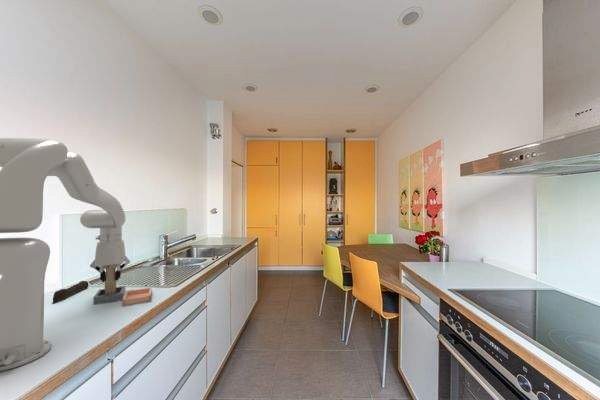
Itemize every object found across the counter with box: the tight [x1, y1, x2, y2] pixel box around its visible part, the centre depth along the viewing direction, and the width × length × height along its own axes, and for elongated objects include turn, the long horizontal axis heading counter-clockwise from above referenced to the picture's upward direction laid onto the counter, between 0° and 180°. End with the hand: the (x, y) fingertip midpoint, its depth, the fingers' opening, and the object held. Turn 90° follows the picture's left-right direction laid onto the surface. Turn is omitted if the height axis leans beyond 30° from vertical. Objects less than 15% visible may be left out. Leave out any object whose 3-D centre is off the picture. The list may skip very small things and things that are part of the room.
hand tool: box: [52, 280, 89, 304], centre depth 110 cm, size 19×4×5 cm, turn 9°
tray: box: [121, 287, 153, 307], centre depth 105 cm, size 12×10×2 cm
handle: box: [103, 264, 119, 295], centre depth 106 cm, size 5×6×15 cm
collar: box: [92, 285, 126, 306], centre depth 106 cm, size 10×10×3 cm
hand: (110, 280), depth 106 cm, fingers open, 4 cm apart
